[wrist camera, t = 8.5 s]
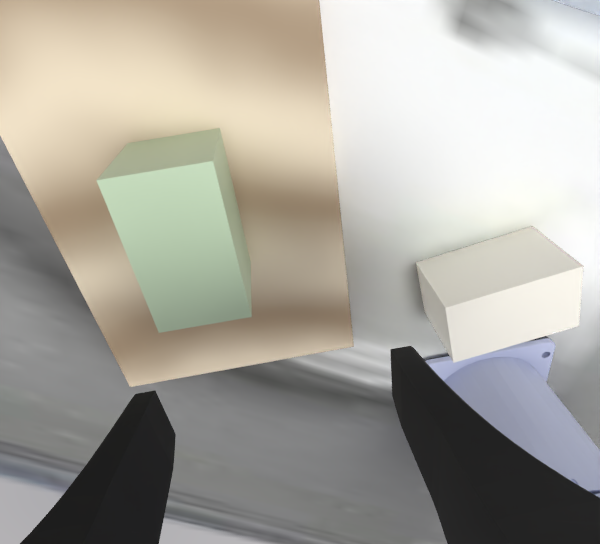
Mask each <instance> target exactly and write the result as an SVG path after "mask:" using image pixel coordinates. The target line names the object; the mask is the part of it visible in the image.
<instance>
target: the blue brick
mask: <svg viewBox="0 0 600 544" xmlns="http://www.w3.org/2000/svg"><path fill="white" fill-rule="evenodd" d="M553 1H556V2H559V3H562V4H565V5H568V6H571V7H574V8H577V9H580V10H583V11H586V12H589V13H592V14H595V15H599V16H600V0H553Z"/></svg>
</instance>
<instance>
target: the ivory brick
mask: <svg viewBox="0 0 600 544" xmlns="http://www.w3.org/2000/svg"><path fill="white" fill-rule="evenodd" d="M416 266H417V272H418V277H419V283H420V288H421V294H422V299H423V305H424V310H425V314H426V316H427V318H428V319H429V321H430V323H431V325H432V326H433V328H434V330H435V331H436V333H437V335H438V337H439V338H440V340H441V342H442V344H443V345H444V347H445V349H446V351H447V352H448V354H449V356H450V358H451V359H452V361H453V363H455V362H458V361H462V360H465V359H469V358H472V357H475V356H479V355H482V354H486V353H489V352H492V351H496V350H499V349H503V348H506V347H510V346H513V345H516V344H520V343H523V342H527V341H530V340H533V339H537V338H540V337H544V336H547V335H550V334H554V333H557V332H561V331H564V330H568V329H571V328H574V327H578V326H579V319H580V306H581V293H582V280H583V267H584V266H583V265H581V264H580V263H579V262H578V261H576V260H575V259H574V258H573V257H571V256H570V255H569V254H567V253H566V252H565V251H564V250H562V249H561V248H560V247H558V246H557V245H556V244H555V243H553V242H552V241H551V240H550V239H548V238H547V237H546V236H544V235H543V234H542V233H541V232H539V231H538V230H537V229H535V228H534V227H533V226H531V227H527V228H524V229H521V230H518V231H515V232H511V233H508V234H505V235H502V236H499V237H495V238H492V239H489V240H486V241H483V242H479V243H476V244H473V245H470V246H467V247H463V248H460V249H457V250H454V251H451V252H447V253H444V254H441V255H438V256H435V257H431V258H428V259H425V260H422V261H419V262H416Z"/></svg>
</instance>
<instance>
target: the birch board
mask: <svg viewBox="0 0 600 544" xmlns="http://www.w3.org/2000/svg"><path fill="white" fill-rule="evenodd" d="M217 128H220V131H221V135H222V139H223V144H224V148H225V152H226V157H227V161H228V166H229V170H230V174H231V179H232V183H233V187H234V192H235V196H236V200H237V205H238V209H239V213H240V218H241V222H242V226H243V231H244V235H245V239H246V244H247V248H248V253H249V257H250V261H251V306H252V317H249V318H243V319H237V320H231V321H225V322H220V323H214V324H208V325H202V326H196V327H190V328H185V329H179V330H173V331H167V332H161V333H159V332H158V330H157V327H156V325H155V322H154V320H153V317H152V315H151V313H150V310H149V308H148V305H147V303H146V300H145V298H144V295H143V293H142V291H141V288H140V286H139V283H138V281H137V278H136V276H135V273H134V271H133V269H132V266H131V264H130V261H129V259H128V256H127V254H126V251H125V249H124V247H123V244H122V242H121V239H120V237H119V234H118V232H117V229H116V227H115V225H114V222H113V220H112V217H111V215H110V212H109V210H108V207H107V205H106V203H105V200H104V198H103V195H102V193H101V190H100V188H99V185H98V183H97V181H96V180H97V179H98V178H99V177H100V175H101V174H102V173H103V172H104V171H105V170H106V168H107V167H108V166H109V165H110V164H111V162H112V161H113V160H114V159H115V158H116V157H117V155H118V154H119V153H120V152H121V151H122V149H123V148H124V147H125V146H126V145H127V143H132V142H138V141H144V140H150V139H156V138H162V137H169V136H175V135H181V134H187V133H193V132H199V131H205V130H211V129H217ZM0 136H1V138H2V139H3V141H4V143H5V145H6V147H7V149H8V151H9V153H10V155H11V157H12V159H13V161H14V163H15V165H16V167H17V169H18V170H19V172H20V174H21V176H22V178H23V180H24V182H25V184H26V186H27V188H28V190H29V192H30V194H31V196H32V198H33V200H34V201H35V203H36V205H37V207H38V209H39V211H40V213H41V215H42V217H43V219H44V221H45V223H46V225H47V227H48V229H49V231H50V232H51V234H52V236H53V238H54V240H55V242H56V244H57V246H58V248H59V250H60V252H61V254H62V256H63V258H64V260H65V262H66V263H67V265H68V267H69V269H70V271H71V273H72V275H73V277H74V279H75V281H76V283H77V285H78V287H79V289H80V291H81V293H82V294H83V296H84V298H85V300H86V302H87V304H88V306H89V308H90V310H91V312H92V314H93V316H94V318H95V320H96V322H97V324H98V325H99V327H100V329H101V331H102V333H103V335H104V337H105V339H106V341H107V343H108V345H109V347H110V349H111V351H112V353H113V355H114V356H115V358H116V360H117V362H118V364H119V366H120V368H121V370H122V372H123V374H124V376H125V378H126V380H127V382H128V384H129V386H130V387H133V386H138V385H144V384H149V383H155V382H160V381H166V380H172V379H177V378H183V377H188V376H194V375H199V374H205V373H210V372H216V371H221V370H227V369H232V368H238V367H243V366H249V365H254V364H260V363H266V362H271V361H277V360H282V359H288V358H293V357H299V356H304V355H310V354H315V353H321V352H326V351H332V350H337V349H343V348H348V347H354V344H353V334H352V324H351V314H350V304H349V294H348V284H347V274H346V264H345V254H344V244H343V234H342V224H341V214H340V204H339V194H338V184H337V174H336V164H335V154H334V144H333V134H332V124H331V114H330V104H329V94H328V85H327V75H326V65H325V55H324V45H323V35H322V25H321V15H320V5H319V0H0Z"/></svg>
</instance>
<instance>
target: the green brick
mask: <svg viewBox="0 0 600 544" xmlns="http://www.w3.org/2000/svg"><path fill="white" fill-rule="evenodd" d="M96 181H97V183H98V185H99V188H100V190H101V193H102V195H103V198H104V200H105V203H106V205H107V207H108V210H109V212H110V215H111V217H112V220H113V222H114V225H115V227H116V229H117V232H118V234H119V237H120V239H121V242H122V244H123V247H124V249H125V251H126V254H127V256H128V259H129V261H130V264H131V266H132V269H133V271H134V273H135V276H136V278H137V281H138V283H139V286H140V288H141V291H142V293H143V295H144V298H145V300H146V303H147V305H148V308H149V310H150V313H151V315H152V317H153V320H154V322H155V325H156V327H157V330H158V332H159V333H161V332H167V331H173V330H179V329H185V328H190V327H196V326H202V325H208V324H214V323H220V322H225V321H231V320H237V319H243V318H249V317H252V306H251V261H250V257H249V253H248V248H247V244H246V239H245V235H244V231H243V226H242V222H241V218H240V213H239V209H238V205H237V200H236V196H235V192H234V187H233V183H232V179H231V174H230V170H229V166H228V161H227V157H226V152H225V148H224V144H223V139H222V135H221V131H220V128H217V129H211V130H205V131H199V132H193V133H187V134H181V135H175V136H169V137H162V138H156V139H150V140H144V141H138V142H132V143H127V145H126V146H125V147H124V148H123V149H122V151H121V152H120V153H119V154H118V155H117V157H116V158H115V159H114V160H113V161H112V162H111V164H110V165H109V166H108V167H107V168H106V170H105V171H104V172H103V173H102V174H101V175H100V177H99V178H98V179H97V180H96Z"/></svg>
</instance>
